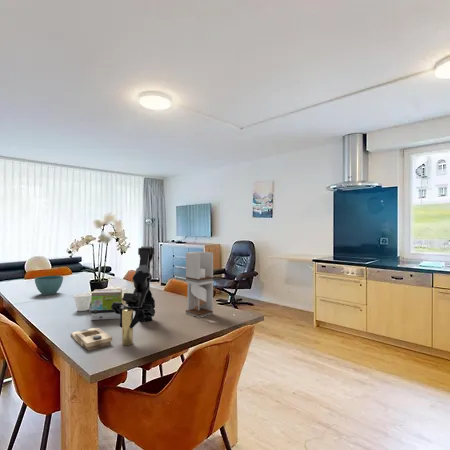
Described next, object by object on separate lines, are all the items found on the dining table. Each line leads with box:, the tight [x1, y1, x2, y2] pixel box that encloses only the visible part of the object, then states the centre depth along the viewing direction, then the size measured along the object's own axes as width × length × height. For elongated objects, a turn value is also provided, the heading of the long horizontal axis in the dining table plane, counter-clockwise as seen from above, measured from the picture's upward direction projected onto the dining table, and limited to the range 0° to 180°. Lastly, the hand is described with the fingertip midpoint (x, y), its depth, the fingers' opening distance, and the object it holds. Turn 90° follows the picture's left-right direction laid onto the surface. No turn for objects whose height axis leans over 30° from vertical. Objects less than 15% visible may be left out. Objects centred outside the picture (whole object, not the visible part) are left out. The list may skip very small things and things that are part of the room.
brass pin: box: [121, 309, 134, 346], centre depth 126 cm, size 4×4×14 cm
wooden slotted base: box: [70, 327, 113, 351], centre depth 130 cm, size 10×22×4 cm, turn 42°
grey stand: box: [185, 251, 214, 318], centre depth 171 cm, size 11×11×35 cm
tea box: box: [90, 288, 123, 321], centre depth 165 cm, size 15×10×15 cm, turn 105°
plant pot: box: [34, 275, 64, 296], centre depth 222 cm, size 18×18×12 cm
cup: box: [73, 292, 92, 312], centre depth 178 cm, size 10×10×9 cm
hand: (125, 327), depth 125 cm, fingers closed on brass pin, 4 cm apart
